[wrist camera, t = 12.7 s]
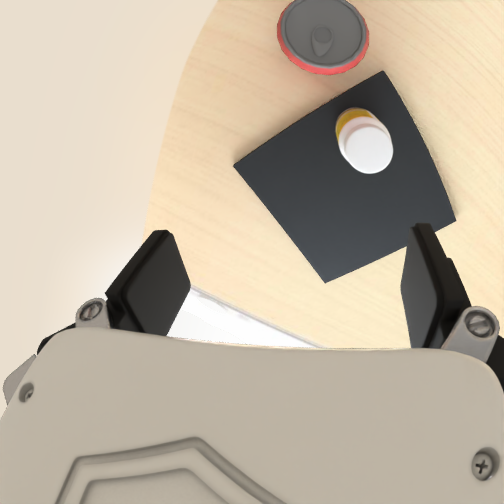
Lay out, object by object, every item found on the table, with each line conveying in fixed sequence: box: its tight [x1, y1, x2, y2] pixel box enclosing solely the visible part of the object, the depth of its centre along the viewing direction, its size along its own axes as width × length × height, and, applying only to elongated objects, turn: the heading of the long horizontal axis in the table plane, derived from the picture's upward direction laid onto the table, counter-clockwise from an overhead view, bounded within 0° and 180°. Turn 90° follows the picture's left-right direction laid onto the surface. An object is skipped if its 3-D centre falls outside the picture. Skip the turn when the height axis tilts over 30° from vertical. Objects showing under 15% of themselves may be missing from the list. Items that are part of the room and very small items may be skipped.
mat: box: [233, 71, 456, 283], centre depth 32 cm, size 20×20×1 cm
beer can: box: [277, 0, 369, 75], centre depth 19 cm, size 7×7×12 cm
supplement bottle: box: [335, 108, 393, 173], centre depth 25 cm, size 5×5×8 cm
